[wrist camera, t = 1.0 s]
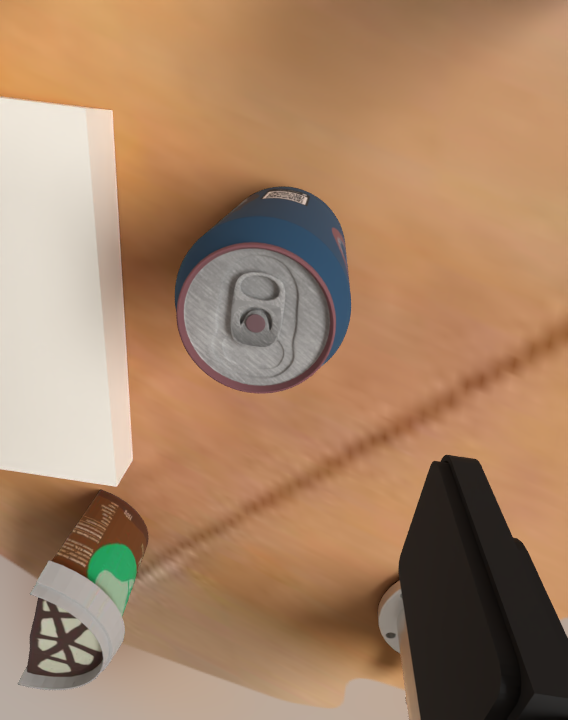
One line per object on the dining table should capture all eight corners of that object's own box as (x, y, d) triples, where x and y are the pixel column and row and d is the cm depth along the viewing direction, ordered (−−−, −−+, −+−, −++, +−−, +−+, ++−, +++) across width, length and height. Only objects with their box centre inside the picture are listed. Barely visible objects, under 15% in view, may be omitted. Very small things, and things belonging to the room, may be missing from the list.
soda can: (332, 310, 28) (332, 421, 18) (222, 292, 28) (157, 391, 18) (356, 194, 25) (374, 244, 14) (232, 174, 25) (160, 209, 15)
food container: (146, 590, 43) (97, 711, 34) (82, 570, 42) (16, 688, 33) (176, 500, 37) (127, 618, 28) (103, 476, 37) (30, 588, 28)
